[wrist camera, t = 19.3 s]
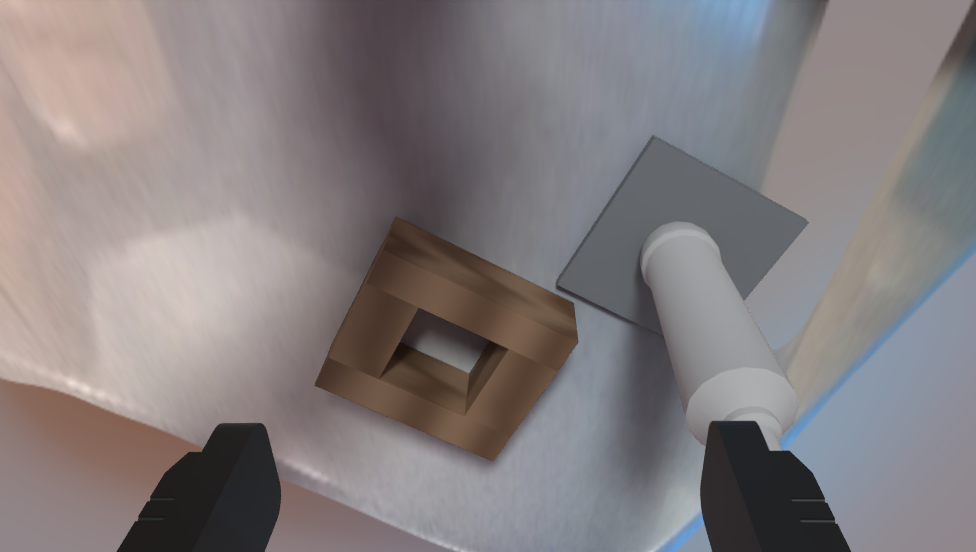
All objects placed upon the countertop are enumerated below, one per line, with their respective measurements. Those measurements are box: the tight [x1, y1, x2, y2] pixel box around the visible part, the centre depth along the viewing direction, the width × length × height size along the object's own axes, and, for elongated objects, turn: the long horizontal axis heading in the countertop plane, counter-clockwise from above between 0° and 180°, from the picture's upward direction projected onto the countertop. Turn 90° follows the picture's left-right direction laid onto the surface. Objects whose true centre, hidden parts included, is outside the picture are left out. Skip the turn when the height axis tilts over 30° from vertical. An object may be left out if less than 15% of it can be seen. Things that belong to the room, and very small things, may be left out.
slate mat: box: [557, 135, 809, 337], centre depth 48 cm, size 12×12×1 cm
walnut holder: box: [315, 217, 578, 461], centre depth 50 cm, size 14×12×5 cm
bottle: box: [640, 221, 798, 451], centre depth 37 cm, size 5×5×25 cm
